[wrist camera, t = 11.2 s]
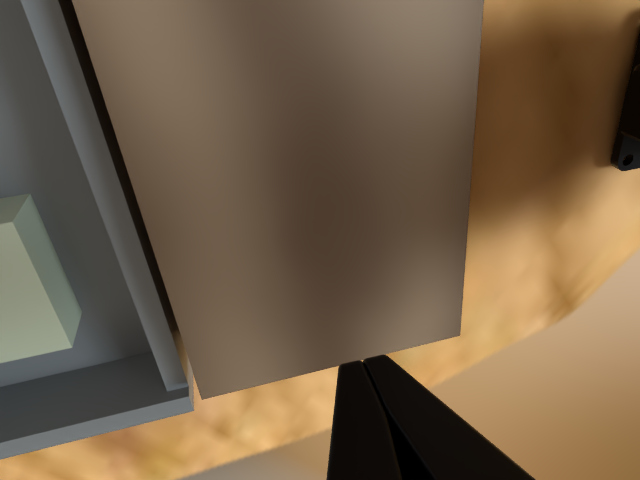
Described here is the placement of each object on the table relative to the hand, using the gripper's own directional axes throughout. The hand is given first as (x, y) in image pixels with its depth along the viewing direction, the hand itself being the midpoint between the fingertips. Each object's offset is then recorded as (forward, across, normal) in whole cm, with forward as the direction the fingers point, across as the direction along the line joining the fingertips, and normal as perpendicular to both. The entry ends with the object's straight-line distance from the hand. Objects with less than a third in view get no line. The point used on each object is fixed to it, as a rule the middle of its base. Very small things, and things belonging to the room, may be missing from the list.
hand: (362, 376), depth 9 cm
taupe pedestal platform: (+11, 0, -2) cm, 11 cm away
